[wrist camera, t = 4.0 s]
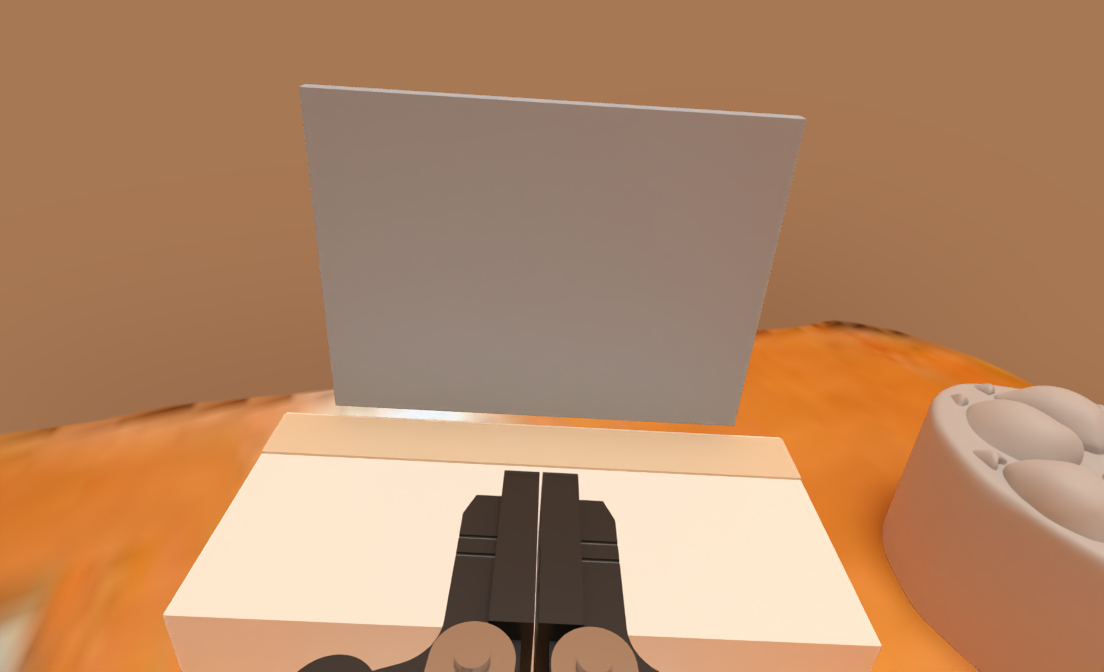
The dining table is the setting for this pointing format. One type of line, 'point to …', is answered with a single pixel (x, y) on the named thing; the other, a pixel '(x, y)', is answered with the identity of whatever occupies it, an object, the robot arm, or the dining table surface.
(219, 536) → the carton
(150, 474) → the dining table surface
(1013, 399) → the paw print tray
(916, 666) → the dining table surface
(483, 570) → the robot arm
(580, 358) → the flap
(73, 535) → the dining table surface
